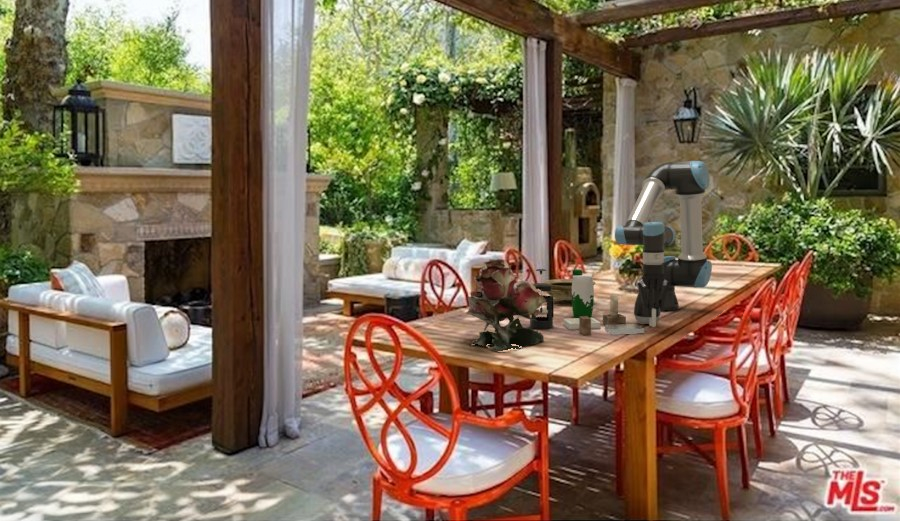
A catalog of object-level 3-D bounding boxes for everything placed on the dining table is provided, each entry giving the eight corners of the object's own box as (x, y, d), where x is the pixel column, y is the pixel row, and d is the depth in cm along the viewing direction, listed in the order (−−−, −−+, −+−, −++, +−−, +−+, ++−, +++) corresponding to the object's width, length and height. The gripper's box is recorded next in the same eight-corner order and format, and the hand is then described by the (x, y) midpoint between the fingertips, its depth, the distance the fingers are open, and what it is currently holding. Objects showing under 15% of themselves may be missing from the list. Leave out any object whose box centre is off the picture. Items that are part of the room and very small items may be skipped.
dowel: (616, 324, 272) (616, 294, 271) (619, 326, 269) (619, 296, 268) (609, 325, 272) (609, 295, 271) (611, 326, 269) (611, 296, 268)
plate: (635, 330, 263) (635, 323, 263) (644, 335, 255) (644, 328, 254) (605, 331, 263) (605, 325, 262) (612, 336, 254) (612, 329, 253)
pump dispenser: (660, 321, 277) (661, 284, 275) (659, 326, 267) (660, 287, 265) (634, 320, 280) (634, 283, 278) (632, 325, 270) (632, 287, 269)
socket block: (619, 323, 274) (619, 313, 274) (625, 327, 267) (625, 316, 267) (602, 324, 274) (602, 314, 273) (608, 327, 267) (608, 317, 266)
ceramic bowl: (573, 309, 308) (573, 287, 307) (530, 304, 324) (530, 283, 323) (608, 300, 329) (608, 280, 328) (566, 296, 346) (566, 276, 345)
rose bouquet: (553, 339, 249) (553, 256, 246) (504, 354, 227) (503, 264, 224) (497, 330, 266) (496, 253, 263) (447, 344, 244) (445, 260, 241)
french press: (541, 330, 264) (541, 271, 261) (523, 327, 271) (522, 269, 268) (561, 326, 271) (560, 268, 269) (543, 323, 279) (542, 266, 276)
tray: (592, 323, 275) (593, 317, 275) (600, 328, 265) (600, 322, 265) (563, 325, 274) (563, 318, 274) (569, 330, 264) (569, 323, 264)
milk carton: (572, 315, 295) (571, 268, 293) (593, 315, 293) (593, 268, 291) (571, 318, 286) (571, 271, 284) (593, 319, 284) (593, 271, 282)
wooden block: (587, 331, 260) (587, 316, 259) (590, 334, 255) (590, 318, 254) (579, 332, 260) (579, 316, 259) (583, 334, 255) (583, 319, 254)
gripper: (639, 265, 253) (639, 328, 255) (674, 264, 254) (673, 327, 256) (632, 263, 260) (632, 324, 262) (666, 262, 261) (665, 323, 263)
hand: (652, 325), depth 259 cm, fingers closed
